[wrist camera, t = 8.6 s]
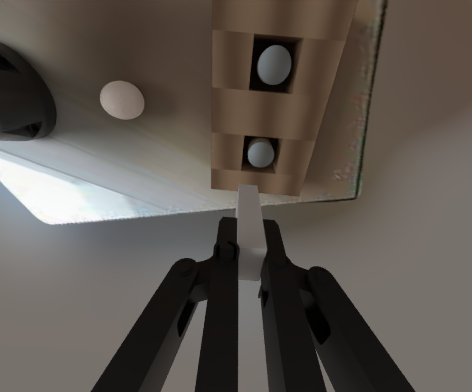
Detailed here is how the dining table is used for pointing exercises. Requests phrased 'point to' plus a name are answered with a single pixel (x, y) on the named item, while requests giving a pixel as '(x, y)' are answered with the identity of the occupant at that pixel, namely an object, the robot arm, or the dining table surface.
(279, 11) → the walnut board
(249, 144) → the dowel
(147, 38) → the dining table surface
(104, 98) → the egg
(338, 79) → the dining table surface
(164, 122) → the dining table surface
